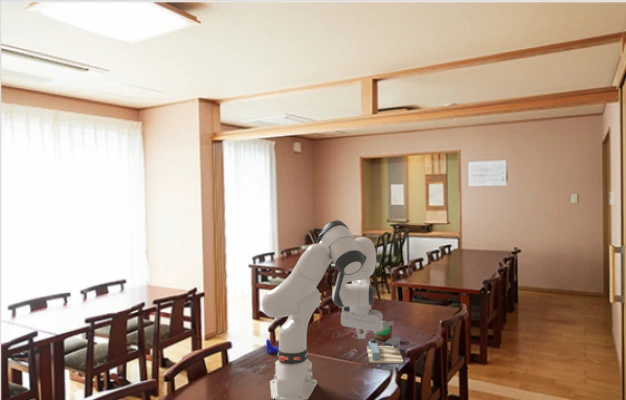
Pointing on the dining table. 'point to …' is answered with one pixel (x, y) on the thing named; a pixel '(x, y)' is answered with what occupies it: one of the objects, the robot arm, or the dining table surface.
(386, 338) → the food container
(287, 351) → the robot arm
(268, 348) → the cable clip
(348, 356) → the dining table surface
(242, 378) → the dining table surface
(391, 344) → the keeper
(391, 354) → the board
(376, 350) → the link
